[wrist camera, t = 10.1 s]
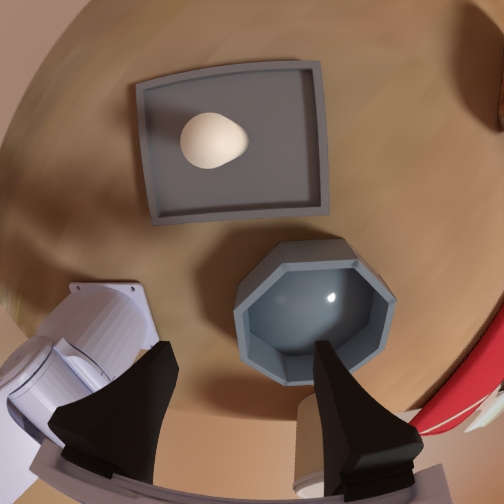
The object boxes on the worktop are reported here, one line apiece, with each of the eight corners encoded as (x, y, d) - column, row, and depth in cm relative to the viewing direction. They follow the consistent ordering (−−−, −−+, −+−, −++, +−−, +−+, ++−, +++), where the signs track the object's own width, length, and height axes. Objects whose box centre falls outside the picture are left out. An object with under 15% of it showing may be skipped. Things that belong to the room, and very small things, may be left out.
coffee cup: (283, 423, 31) (283, 500, 20) (301, 381, 27) (308, 478, 16) (347, 423, 31) (359, 495, 20) (375, 383, 27) (399, 466, 16)
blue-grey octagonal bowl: (247, 357, 26) (244, 387, 23) (233, 243, 22) (226, 265, 18) (366, 349, 25) (376, 376, 21) (384, 236, 20) (404, 255, 17)
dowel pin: (215, 160, 18) (183, 172, 11) (212, 125, 17) (177, 117, 10) (250, 156, 18) (239, 165, 11) (247, 121, 17) (234, 109, 10)
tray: (159, 220, 21) (152, 226, 20) (144, 87, 17) (135, 84, 16) (325, 209, 20) (329, 215, 19) (316, 66, 16) (320, 60, 14)
